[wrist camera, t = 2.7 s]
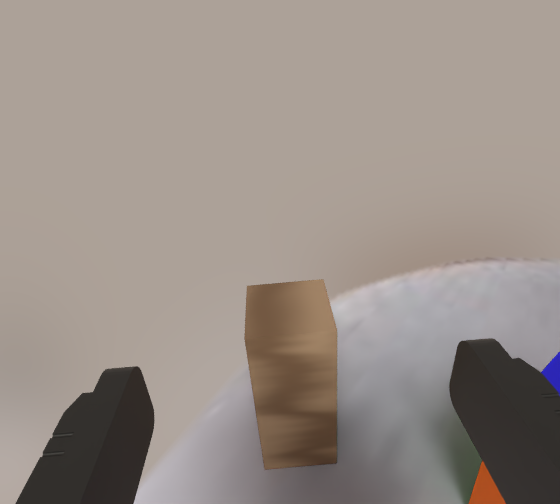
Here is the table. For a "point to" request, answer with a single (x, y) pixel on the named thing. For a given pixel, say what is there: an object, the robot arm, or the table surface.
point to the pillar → (293, 372)
